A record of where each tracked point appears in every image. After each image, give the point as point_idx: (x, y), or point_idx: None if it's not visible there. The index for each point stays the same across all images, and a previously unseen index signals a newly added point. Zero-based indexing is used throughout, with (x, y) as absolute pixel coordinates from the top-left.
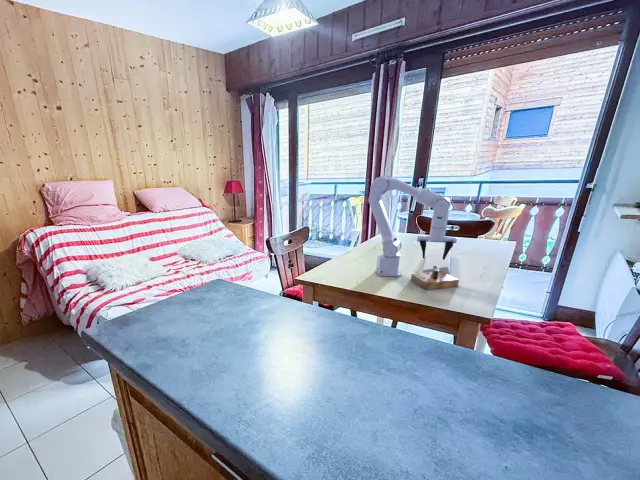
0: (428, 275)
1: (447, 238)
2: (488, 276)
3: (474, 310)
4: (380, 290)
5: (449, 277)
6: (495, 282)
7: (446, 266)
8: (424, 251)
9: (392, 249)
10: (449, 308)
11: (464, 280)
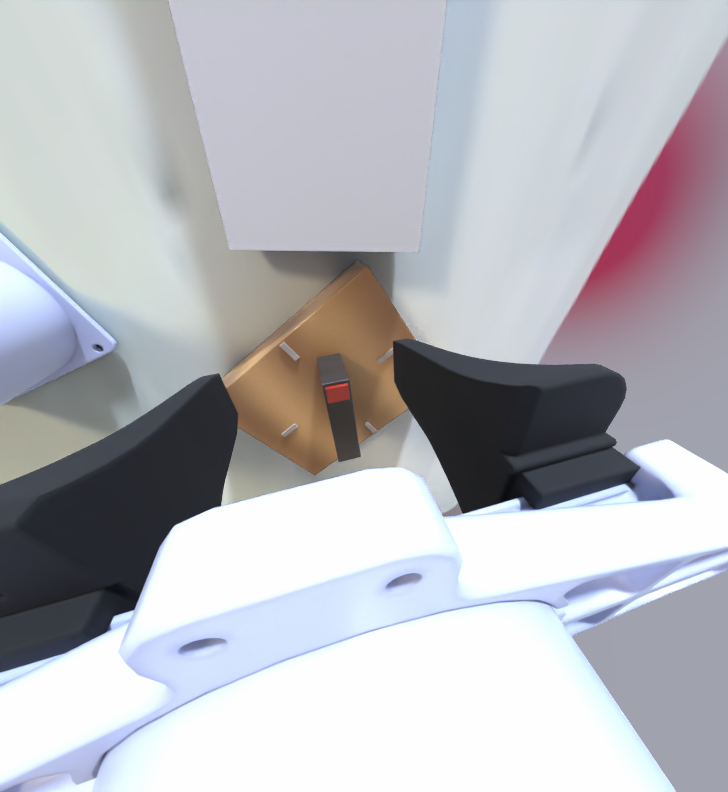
0: (302, 389)
1: (586, 596)
2: (638, 107)
3: (437, 501)
4: None
5: None
6: (605, 236)
7: (407, 233)
8: (215, 490)
9: None
10: None
11: (475, 263)
